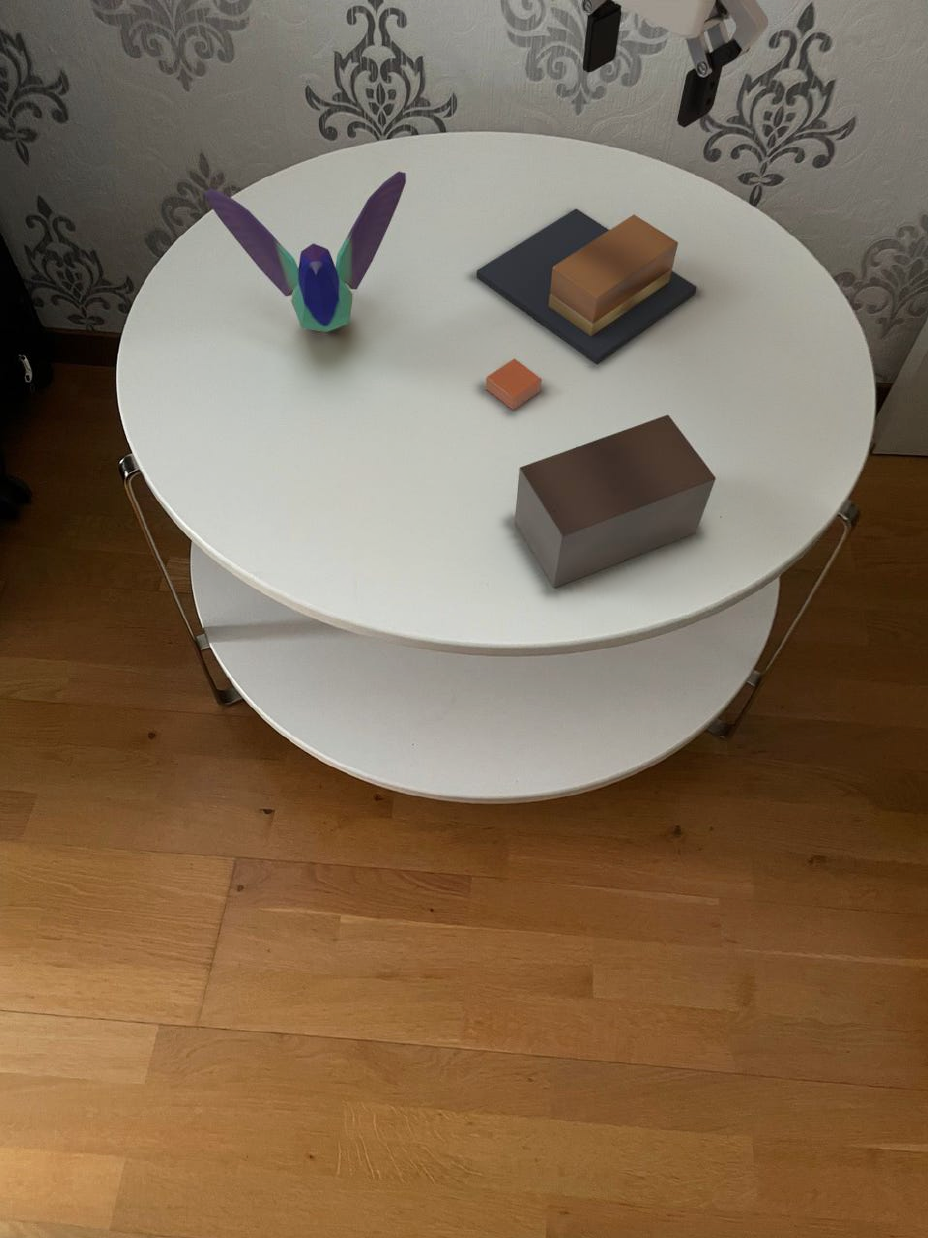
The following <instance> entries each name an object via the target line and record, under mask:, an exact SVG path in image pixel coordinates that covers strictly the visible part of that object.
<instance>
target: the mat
mask: <svg viewBox="0 0 928 1238" xmlns="http://www.w3.org/2000/svg"><path fill="white" fill-rule="evenodd" d="M609 230H610V229H608V228H607V227H605V226H604V225H602V224H601V223H600V222H598V221H597V220H595V219H593V218H591V216H588V215H587V214H586V213H584V212H582V211H581V210H579V209H578V208H574V209H573V210H571V211H570V212H568V213H567V214H565V215H563V216H562V217H560V218H558V219H556V220H555V221H554V222H552V223H550V224H549V225H547V226H546V227H544V228H543V229H541V230H539V231H537V232H536V233H534V234H533V235H531V236H530V237H527V238H526V239H524V240H523V241H522V242H520V243H519V244H517V245H515V246H514V247H512V248H510V249H509V250H507V251H506V252H504V253H502V254H501V255H499V256H498V257H496V258H494V259H492V260H491V261H490V262H488V263H486V264H485V265H483V266H481V267H480V268H479V269H477V270H476V278H477V279H479V280H480V281H482V283H484V284H485V285H487V286H488V287H489V288H491V289H492V290H494V291H495V292H497V293H498V294H499V295H501V296H502V297H503V298H504V299H506V300H508V302H510V303H511V304H513V305H515V306H516V307H517V308H518V309H520V310H521V311H523V312H524V313H526V314H527V315H528V316H530V317H531V318H532V319H534V320H535V321H536V322H538V323H539V324H540V325H542V326H543V327H545V328H546V329H547V330H549V331H550V332H552V333H553V334H554V335H556V336H557V337H558V338H560V339H561V340H562V341H564V342H565V343H566V344H568V345H569V346H571V347H572V348H573V349H575V351H576V350H577V351H578V352H579V353H580V354H582V355H583V356H585V357H586V358H588V359H589V360H590V361H591V362H593V363H594V364H596V365H598V364H599V363H601V362H602V361H603V360H605V359H606V358H607V357H609V356H610V355H612V354H613V353H615V352H616V351H617V350H618V349H620V348H622V347H623V346H625V344H627V343H629V342H630V341H631V340H633V339H634V338H636V337H637V336H638V335H639V334H641V333H642V332H644V331H645V330H646V329H648V328H649V327H651V326H652V325H654V324H655V323H657V322H658V321H659V320H660V319H662V318H663V317H665V316H666V315H668V314H669V313H670V312H672V311H673V310H674V309H676V308H678V306H680V305H682V304H683V303H684V302H685V301H687V300H689V298H691V297H692V296H694V295H695V294H696V293H697V289H698V286H696V285H695V284H693V283H692V282H690V281H689V280H687V279H685V278H684V277H682V276H681V275H680V274H678V273H676V272H675V271H673V270H672V271H671V276H670V280H669V282H668V283H667V284H665V285H664V286H663V287H661V288H660V289H658V290H657V291H655V292H654V293H653V294H651V295H650V296H648V297H647V298H645V299H644V300H643V301H641V302H640V303H638V304H637V305H635V306H634V307H633V308H631V309H630V310H628V311H627V312H625V313H624V314H623V315H621V316H620V317H618V318H617V319H615V320H614V321H613V322H611V323H610V324H608V325H607V326H605V327H604V328H603V329H601V330H600V331H598V332H597V333H595V334H594V335H593V336H589V335H588V334H587V333H585V332H584V331H582V330H581V329H580V328H578V327H577V326H575V325H574V324H573V323H571V322H570V321H568V320H567V319H566V318H564V317H563V316H561V315H560V314H559V313H557V312H556V311H554V310H553V309H552V308H550V307H549V297H550V288H551V278H552V269H553V267H554V266H555V265H557V264H558V263H560V262H561V261H563V260H564V259H566V258H568V257H569V256H571V255H572V254H574V253H575V252H577V251H578V250H580V249H581V248H583V247H584V246H586V245H588V244H589V243H591V242H592V241H594V240H595V239H597V238H598V237H600V236H601V235H603V234H604V233H606V232H608V231H609Z"/></svg>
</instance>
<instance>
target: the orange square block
mask: <svg viewBox="0 0 928 1238" xmlns="http://www.w3.org/2000/svg"><path fill="white" fill-rule="evenodd" d="M542 380H543V379H542V378H541V377H540V376H538V375H537V374H536V373H535V372H533V371H532V370H531V369H529V368H528V367H527V366H525V365H524V364H522V362H520V361H519V360H517V359H516V358H512V359H511V360H509V361H508V362H507V363H504V364H503V365H501V367H500V368H497V369H496V370H495V371H493V372H492V373H490V374H489V375H487V376H486V379H485V390H486V391H487V392H489V393H490V394H492V395H493V396H495V398H497V399H498V400H499V401H500V402H501V403H502V404H504V405H505V406H506V407H507V408H509V409H510V410H511V411H514V410H516V409H517V408H518V407H520V406H521V405H523V404H524V403H526V402H527V401H528V400H530V399H531V398H533V397H534V396H536V395H537V394H539V393H540V392H541V390H542Z"/></svg>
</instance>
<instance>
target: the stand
mask: <svg viewBox="0 0 928 1238" xmlns="http://www.w3.org/2000/svg"><path fill="white" fill-rule="evenodd" d="M698 453H699V452H697V451H696V450H695V448H694V447H693V446H692V444H691V443H690V442H689V440H688V439H687V437H686V436H685V435H684V433H683V432H682V431H681V429H680V428H679V427H678V425H677V424H676V423H675V422H674V420H673V419H672V418H671V416H670V415H669V414H666V415H662V416H660V417H657V418H655V419H651V420H649V421H646V422H644V423H640V424H637V425H635V426H632V427H629V428H627V429H624V430H621V431H618V432H615V433H612V434H609V435H607V436H605V437H601V438H599V439H595V440H593V441H590V442H587V443H584V444H581V445H578V446H576V447H573V448H570V449H567V450H565V451H562V452H559V453H557V454H553V455H551V456H548V457H545V458H543V459H539V460H537V461H533V462H531V463H529V464H526V465H523V466H520V467H519V470H518V480H517V483H518V484H517V492H516V504H515V512H514V513H515V514H514V524H515V526H516V527H517V529H518V531H519V533H520V534H521V535H522V538H523V540H524V541H525V542H526V545H527V546H528V549H530V551H531V553H532V554H533V557H534V558H535V559H536V561H537V563H538V564H539V566H540V568H541V570H542V571H543V573H544V575H545V576H546V578H547V580H548V581H549V583H550V584H551V587H552V588H553V589H556V588H559V587H561V586H564V585H566V584H569V583H572V582H574V581H577V580H580V579H581V578H584V577H587V576H590V575H592V574H594V573H597V572H600V571H602V570H605V569H608V568H611V567H612V566H614V565H617V564H620V563H623V562H625V561H628V560H630V559H633V558H635V557H637V556H640V555H643V554H645V553H648V552H651V551H654V550H656V549H658V548H661V547H664V546H666V545H668V544H671V543H673V542H676V541H679V540H681V539H684V538H687V537H689V536H692V535H694V534H696V533H697V531H698V528H699V525H700V523H701V520H702V518H703V515H704V512H705V509H706V507H707V504H708V502H709V499H710V496H711V493H712V491H713V487H714V486H715V482H716V479H717V477H716V476H715V475H714V473H713V472H712V471H711V469H710V467H708V465H707V463H706V462H704V460H703V458H702V457H701V456H700V455H699V454H698Z"/></svg>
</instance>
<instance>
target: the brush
mask: <svg viewBox="0 0 928 1238" xmlns="http://www.w3.org/2000/svg"><path fill="white" fill-rule="evenodd" d="M678 246H679V241H677V240H675V239H674V238H672V237H671V236H669V235H668V234H666V233H664V232H663V231H662V230H659V229H658V228H657V227H655V226H653V225H652V224H650V223H648V222H647V221H645V220H644V219H642V218H641V217H640V216H638V215H636V214H632V215H630V216H629V217H627V218H626V219H625V220H623V221H621V222H620V223H618V224H617V225H615V226H614V227H612V228H611V229H609V231H608V232H606V233H604V234H603V235H601V236H600V237H598V238H597V239H595V240H594V241H592V242H591V243H589V244H588V245H586V246H584V247H583V248H581V249H580V250H578V251H577V252H575V253H574V254H572V255H571V256H569V257H568V258H566V259H564V260H563V261H561V262H560V263H558V264H557V265H555V266H554V267H553V269H552V278H551V288H550V297H549V307H550V308H552V309H553V310H554V311H556V312H557V313H559V314H560V315H561V316H563V317H564V318H566V319H567V320H568V321H570V322H571V323H573V324H574V325H575V326H577V327H578V328H580V329H581V330H582V331H584V332H585V333H587V334H588V335H589V336H593V335H594V334H595V333H597V332H598V331H600V330H601V329H603V328H604V327H605V326H607V325H608V324H610V323H611V322H613V321H614V320H615V319H617V318H618V317H620V316H621V315H623V314H624V313H625V312H627V311H628V310H630V309H631V308H633V307H634V306H635V305H637V304H638V303H640V302H641V301H643V300H644V299H645V298H647V297H648V296H650V295H651V294H653V293H654V292H655V291H657V290H658V289H660V288H661V287H663V286H664V285H665V284H667V283H668V282H669V280H670V276H671V271H673V267H674V262H675V258H676V255H677V251H678Z"/></svg>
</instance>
